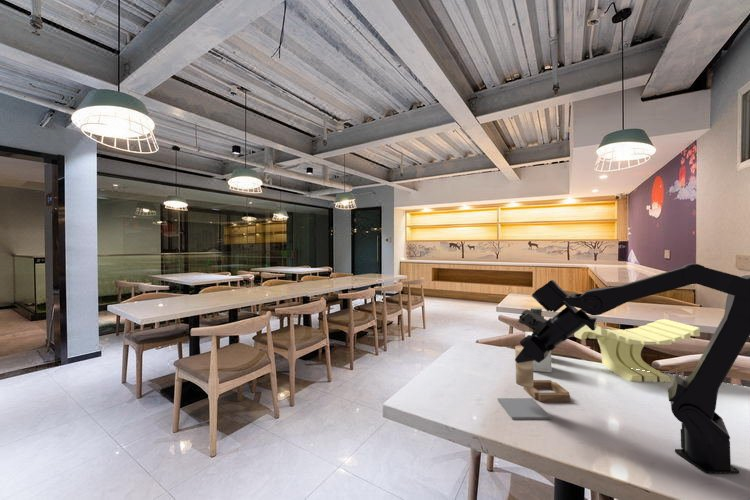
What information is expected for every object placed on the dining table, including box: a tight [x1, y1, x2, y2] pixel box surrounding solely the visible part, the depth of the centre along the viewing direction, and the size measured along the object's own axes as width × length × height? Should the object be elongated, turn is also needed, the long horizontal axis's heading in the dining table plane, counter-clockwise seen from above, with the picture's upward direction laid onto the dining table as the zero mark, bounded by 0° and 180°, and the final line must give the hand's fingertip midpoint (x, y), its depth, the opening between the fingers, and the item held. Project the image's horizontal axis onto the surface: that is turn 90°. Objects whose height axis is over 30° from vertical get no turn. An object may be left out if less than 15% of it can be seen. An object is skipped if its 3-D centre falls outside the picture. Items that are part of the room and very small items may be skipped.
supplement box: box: [524, 331, 552, 374], centre depth 111 cm, size 7×7×13 cm
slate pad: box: [497, 397, 552, 420], centre depth 83 cm, size 10×10×1 cm
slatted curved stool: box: [573, 318, 701, 383], centre depth 106 cm, size 30×16×18 cm, turn 85°
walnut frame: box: [523, 379, 571, 403], centre depth 91 cm, size 10×10×2 cm
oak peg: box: [514, 345, 535, 388], centre depth 84 cm, size 4×4×10 cm
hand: (519, 359), depth 85 cm, fingers closed on oak peg, 4 cm apart
